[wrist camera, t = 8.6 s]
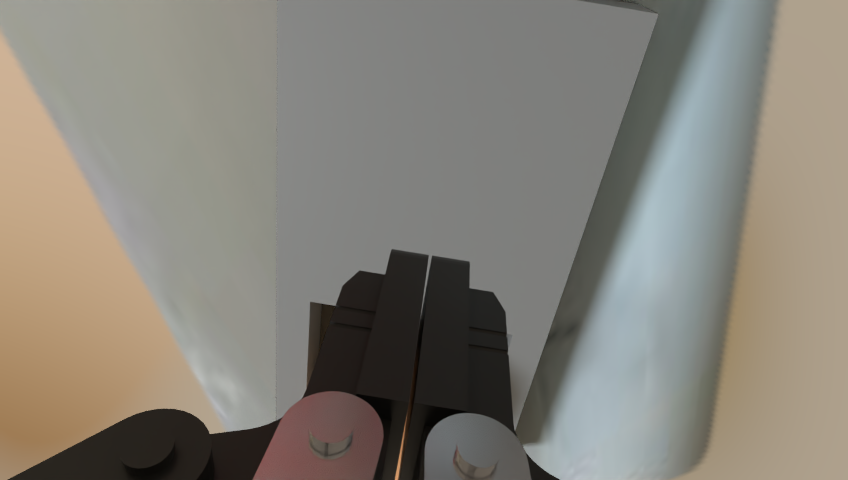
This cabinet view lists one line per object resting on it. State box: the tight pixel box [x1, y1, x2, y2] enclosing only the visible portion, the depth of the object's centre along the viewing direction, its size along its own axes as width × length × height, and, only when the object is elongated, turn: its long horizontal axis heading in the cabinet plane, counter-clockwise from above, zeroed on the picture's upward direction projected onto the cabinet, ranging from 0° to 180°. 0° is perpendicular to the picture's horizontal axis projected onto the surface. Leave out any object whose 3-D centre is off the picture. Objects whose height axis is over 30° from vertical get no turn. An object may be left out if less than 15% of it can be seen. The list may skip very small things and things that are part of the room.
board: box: [276, 0, 659, 430], centre depth 24 cm, size 24×12×2 cm, turn 172°
